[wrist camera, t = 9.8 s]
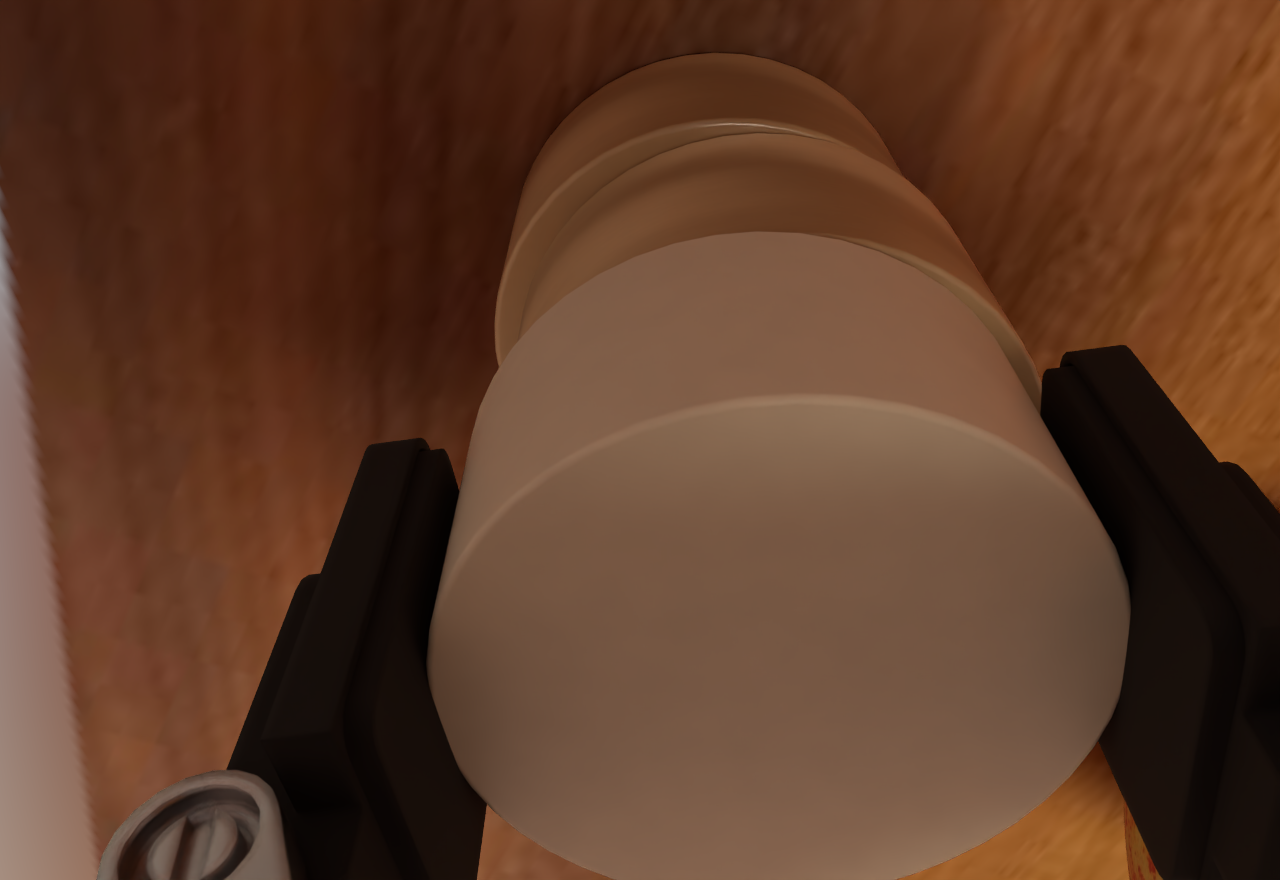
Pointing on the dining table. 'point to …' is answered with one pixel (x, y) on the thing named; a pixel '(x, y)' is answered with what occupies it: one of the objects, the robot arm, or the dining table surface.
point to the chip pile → (721, 186)
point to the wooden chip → (769, 575)
